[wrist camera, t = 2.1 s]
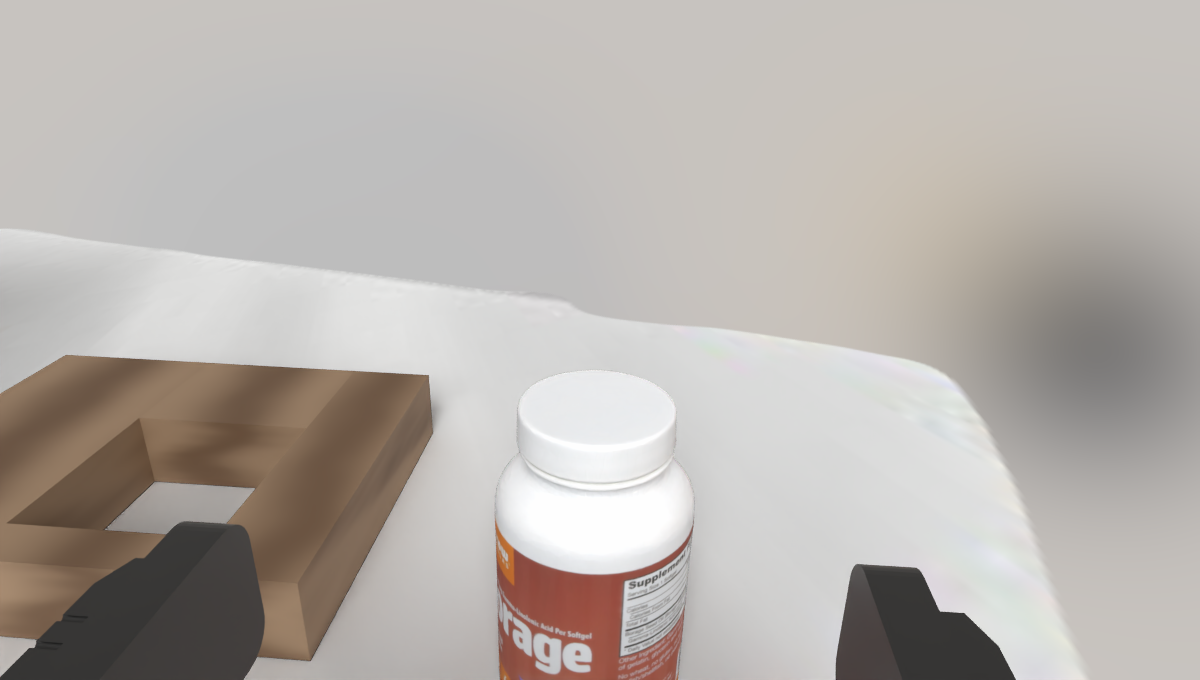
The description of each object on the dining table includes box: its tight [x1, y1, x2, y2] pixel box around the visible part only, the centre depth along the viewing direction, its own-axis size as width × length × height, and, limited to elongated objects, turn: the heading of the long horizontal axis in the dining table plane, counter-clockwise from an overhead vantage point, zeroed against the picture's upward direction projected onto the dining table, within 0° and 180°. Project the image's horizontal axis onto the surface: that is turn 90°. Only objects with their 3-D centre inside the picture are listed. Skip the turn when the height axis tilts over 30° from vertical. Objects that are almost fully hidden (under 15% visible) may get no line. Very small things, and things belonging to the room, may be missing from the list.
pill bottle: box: [495, 370, 695, 680], centre depth 25 cm, size 6×6×11 cm
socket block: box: [0, 355, 433, 661], centre depth 35 cm, size 20×16×4 cm
